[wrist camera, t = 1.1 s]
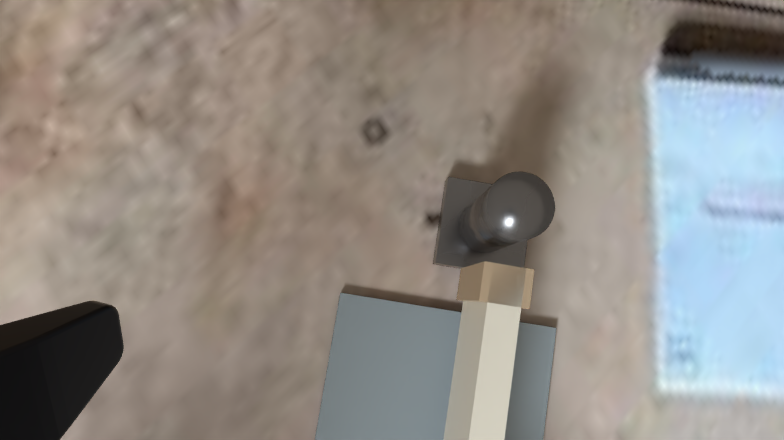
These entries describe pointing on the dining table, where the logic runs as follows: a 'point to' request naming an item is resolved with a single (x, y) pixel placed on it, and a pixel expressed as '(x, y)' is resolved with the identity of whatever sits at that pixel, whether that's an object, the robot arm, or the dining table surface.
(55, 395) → the robot arm
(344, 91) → the dining table surface
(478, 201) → the gate posts
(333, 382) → the doorway mat
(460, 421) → the gate
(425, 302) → the dining table surface
